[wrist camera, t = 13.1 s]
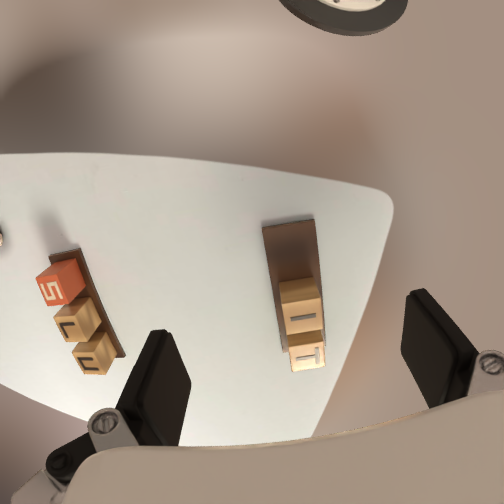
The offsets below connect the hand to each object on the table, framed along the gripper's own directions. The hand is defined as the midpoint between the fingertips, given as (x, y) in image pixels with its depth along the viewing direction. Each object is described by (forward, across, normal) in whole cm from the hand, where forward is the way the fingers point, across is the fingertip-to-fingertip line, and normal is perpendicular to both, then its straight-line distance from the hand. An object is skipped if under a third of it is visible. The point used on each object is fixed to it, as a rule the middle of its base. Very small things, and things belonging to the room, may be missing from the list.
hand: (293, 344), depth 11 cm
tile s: (+24, +28, +4) cm, 37 cm away
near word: (+24, -2, +12) cm, 27 cm away
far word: (+24, +28, +10) cm, 39 cm away
